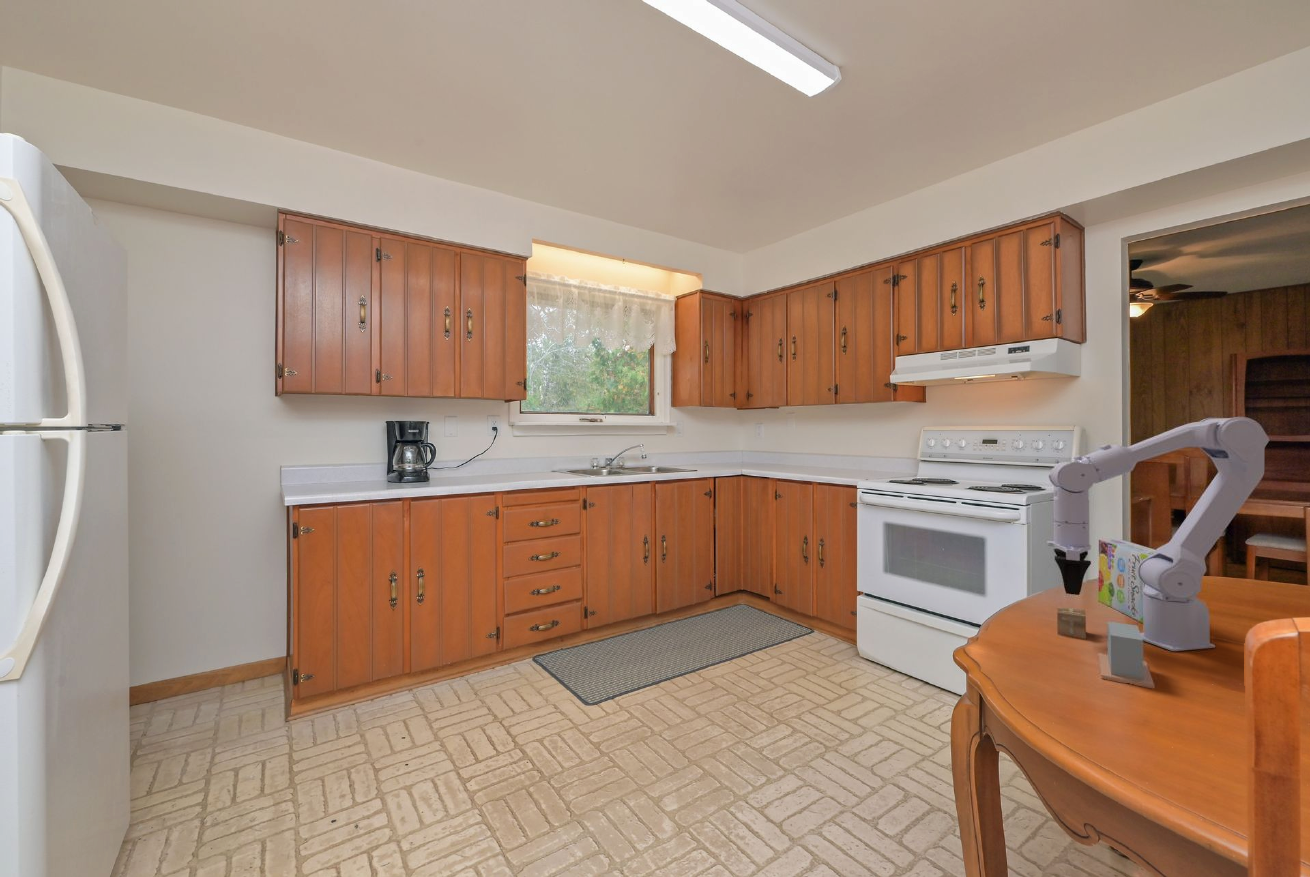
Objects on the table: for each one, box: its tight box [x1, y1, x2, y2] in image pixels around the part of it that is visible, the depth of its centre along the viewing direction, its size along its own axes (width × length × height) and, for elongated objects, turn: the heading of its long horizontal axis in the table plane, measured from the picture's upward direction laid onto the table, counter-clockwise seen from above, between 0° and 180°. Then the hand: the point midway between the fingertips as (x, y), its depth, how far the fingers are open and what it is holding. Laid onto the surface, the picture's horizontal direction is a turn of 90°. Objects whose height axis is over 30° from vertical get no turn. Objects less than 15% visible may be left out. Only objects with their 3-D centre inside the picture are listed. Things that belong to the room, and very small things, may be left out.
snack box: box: [1097, 538, 1156, 624], centre depth 121 cm, size 21×6×15 cm, turn 168°
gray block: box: [1106, 620, 1144, 680], centre depth 94 cm, size 4×8×6 cm, turn 144°
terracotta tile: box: [1097, 652, 1155, 690], centre depth 94 cm, size 11×6×1 cm, turn 144°
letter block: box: [1056, 606, 1087, 639], centre depth 112 cm, size 5×4×5 cm
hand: (1071, 589), depth 111 cm, fingers open, 7 cm apart
